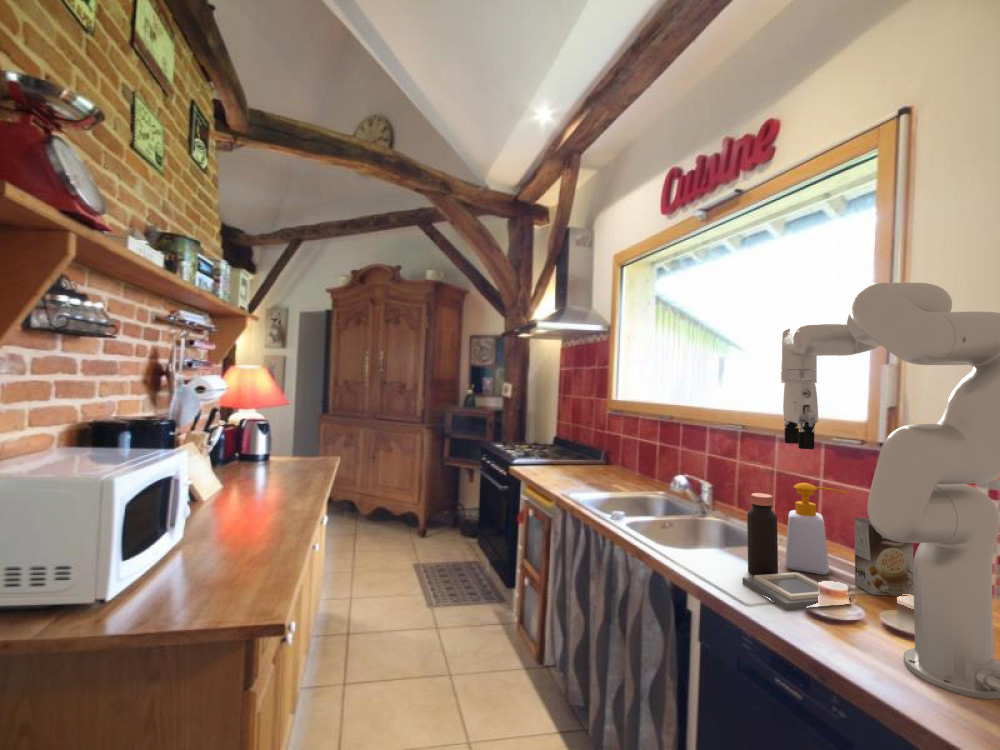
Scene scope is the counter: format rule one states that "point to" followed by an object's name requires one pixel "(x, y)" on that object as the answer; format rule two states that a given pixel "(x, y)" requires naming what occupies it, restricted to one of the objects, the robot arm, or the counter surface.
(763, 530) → the vinegar
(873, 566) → the cookie box
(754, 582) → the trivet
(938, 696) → the counter surface
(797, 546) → the soap bottle
